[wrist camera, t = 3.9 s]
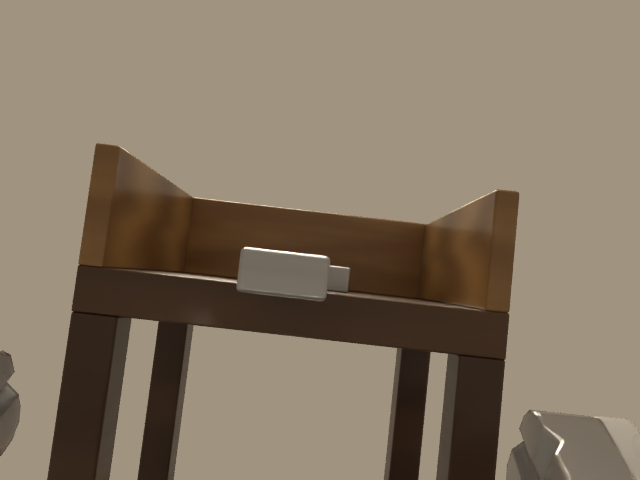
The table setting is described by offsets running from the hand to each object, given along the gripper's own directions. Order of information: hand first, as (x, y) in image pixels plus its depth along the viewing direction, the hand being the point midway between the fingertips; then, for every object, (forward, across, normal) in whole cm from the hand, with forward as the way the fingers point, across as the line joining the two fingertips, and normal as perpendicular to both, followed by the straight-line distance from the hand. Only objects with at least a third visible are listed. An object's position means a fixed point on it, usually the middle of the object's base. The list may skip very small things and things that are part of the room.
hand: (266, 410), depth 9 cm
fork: (+9, 0, +3) cm, 10 cm away
